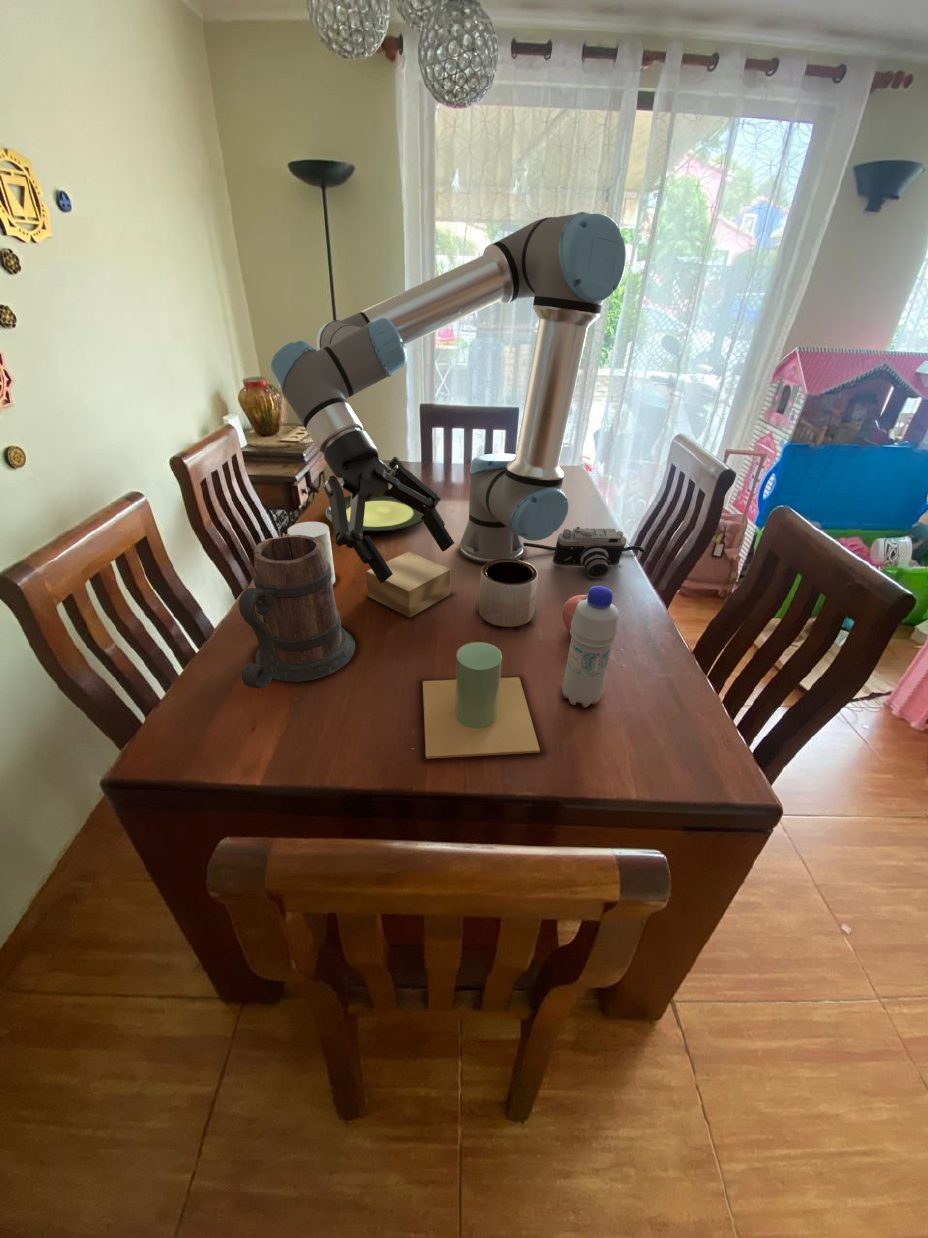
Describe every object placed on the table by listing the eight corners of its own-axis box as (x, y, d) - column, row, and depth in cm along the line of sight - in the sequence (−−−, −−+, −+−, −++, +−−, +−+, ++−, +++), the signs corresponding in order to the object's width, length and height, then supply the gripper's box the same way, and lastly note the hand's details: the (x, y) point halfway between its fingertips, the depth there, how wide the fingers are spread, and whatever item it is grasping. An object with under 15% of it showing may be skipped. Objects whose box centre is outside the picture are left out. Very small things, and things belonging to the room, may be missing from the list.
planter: (538, 605, 106) (543, 563, 101) (526, 634, 97) (531, 590, 92) (487, 595, 109) (490, 554, 104) (471, 622, 100) (473, 578, 95)
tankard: (290, 616, 100) (272, 519, 89) (371, 633, 96) (362, 533, 85) (207, 694, 81) (171, 583, 70) (303, 718, 78) (280, 604, 66)
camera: (556, 583, 117) (565, 550, 109) (551, 557, 123) (558, 524, 115) (625, 583, 118) (638, 550, 110) (616, 557, 123) (628, 524, 116)
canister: (494, 697, 82) (498, 641, 76) (500, 727, 76) (505, 668, 70) (453, 699, 81) (454, 642, 75) (457, 729, 76) (458, 670, 70)
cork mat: (519, 679, 86) (519, 677, 86) (539, 752, 73) (540, 750, 73) (422, 683, 85) (422, 680, 85) (425, 759, 72) (425, 756, 71)
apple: (568, 617, 103) (573, 581, 98) (604, 628, 100) (611, 592, 95) (554, 635, 97) (559, 599, 93) (591, 648, 94) (599, 610, 90)
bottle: (554, 684, 86) (571, 577, 75) (594, 682, 86) (617, 576, 75) (564, 712, 80) (584, 602, 69) (607, 711, 81) (633, 601, 70)
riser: (409, 575, 115) (408, 551, 112) (450, 594, 109) (450, 569, 105) (368, 596, 107) (365, 570, 104) (409, 618, 101) (408, 591, 98)
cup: (325, 592, 108) (318, 539, 101) (289, 588, 109) (279, 535, 103) (341, 574, 115) (335, 523, 108) (306, 570, 116) (298, 519, 109)
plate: (441, 505, 151) (441, 496, 150) (412, 544, 128) (412, 535, 127) (351, 495, 156) (351, 486, 155) (308, 531, 133) (306, 522, 132)
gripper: (392, 441, 89) (458, 546, 90) (264, 476, 73) (345, 603, 74) (413, 413, 84) (483, 525, 84) (279, 445, 67) (368, 583, 68)
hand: (419, 562), depth 79 cm, fingers open, 13 cm apart
